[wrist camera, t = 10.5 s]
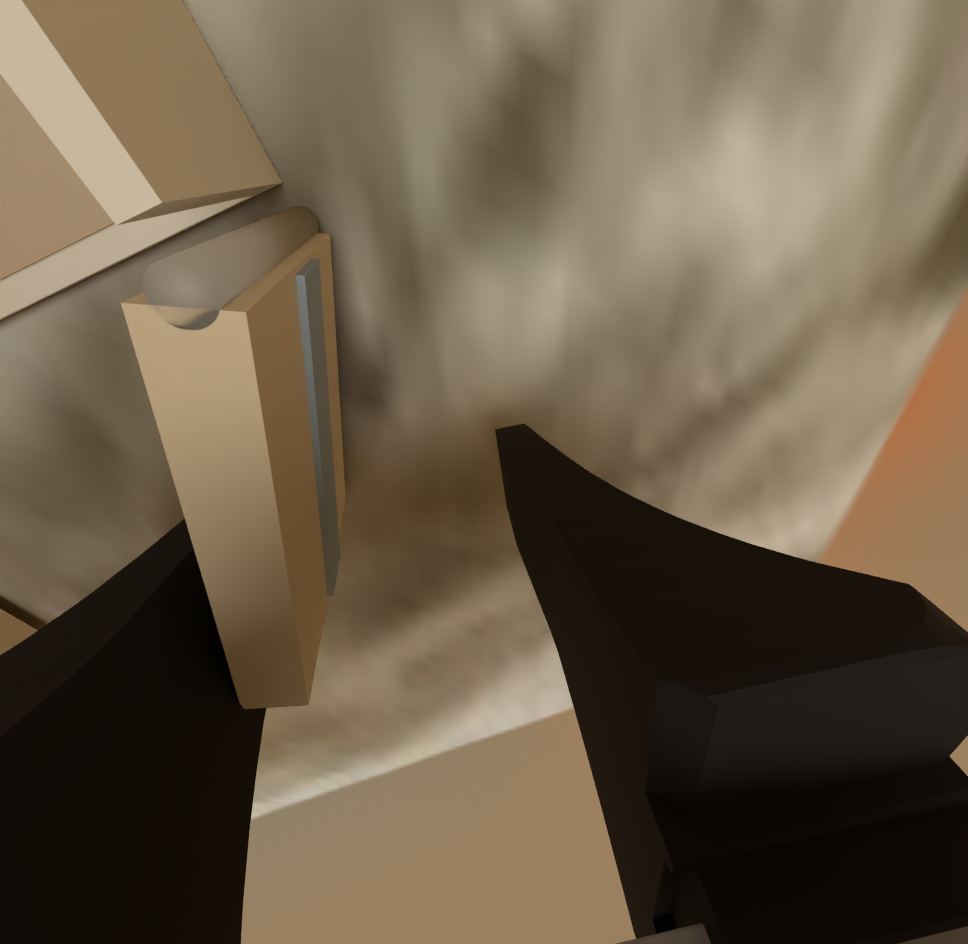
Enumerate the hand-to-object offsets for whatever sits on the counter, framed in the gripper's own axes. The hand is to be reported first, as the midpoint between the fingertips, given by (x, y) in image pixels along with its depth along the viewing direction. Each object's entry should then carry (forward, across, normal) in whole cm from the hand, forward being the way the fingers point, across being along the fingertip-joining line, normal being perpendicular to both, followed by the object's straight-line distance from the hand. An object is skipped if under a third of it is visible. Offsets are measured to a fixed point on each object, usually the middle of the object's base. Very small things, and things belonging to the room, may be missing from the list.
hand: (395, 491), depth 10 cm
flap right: (+2, +1, -2) cm, 3 cm away
